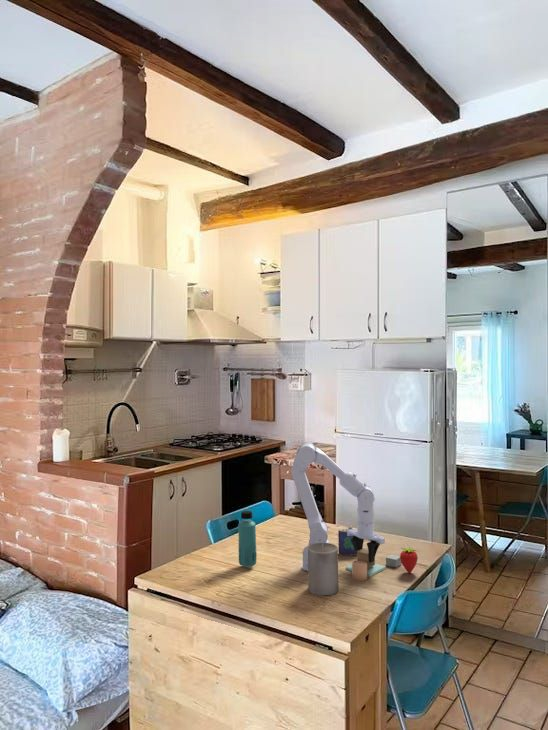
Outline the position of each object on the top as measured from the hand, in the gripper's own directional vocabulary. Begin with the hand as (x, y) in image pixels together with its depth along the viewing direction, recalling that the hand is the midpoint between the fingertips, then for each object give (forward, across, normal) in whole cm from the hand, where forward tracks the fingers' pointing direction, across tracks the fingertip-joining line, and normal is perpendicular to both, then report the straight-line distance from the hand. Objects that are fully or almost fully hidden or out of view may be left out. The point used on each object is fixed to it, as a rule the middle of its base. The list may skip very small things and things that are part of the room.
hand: (365, 559), depth 198 cm
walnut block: (+2, 0, 0) cm, 2 cm away
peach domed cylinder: (+3, -3, +8) cm, 9 cm away
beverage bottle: (+3, +32, +27) cm, 42 cm away
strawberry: (+3, -13, -7) cm, 15 cm away
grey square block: (+3, -5, -10) cm, 12 cm away
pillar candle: (+3, 0, +24) cm, 24 cm away
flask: (+3, +13, -9) cm, 16 cm away
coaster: (+3, 0, 0) cm, 3 cm away
